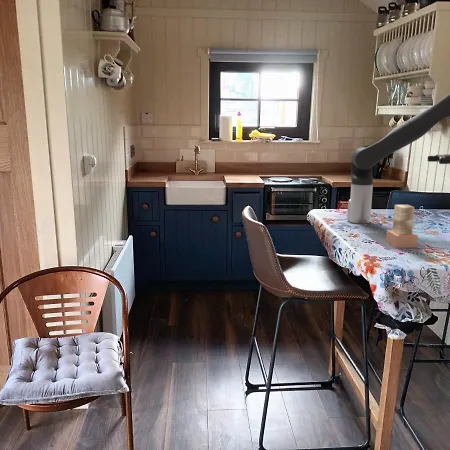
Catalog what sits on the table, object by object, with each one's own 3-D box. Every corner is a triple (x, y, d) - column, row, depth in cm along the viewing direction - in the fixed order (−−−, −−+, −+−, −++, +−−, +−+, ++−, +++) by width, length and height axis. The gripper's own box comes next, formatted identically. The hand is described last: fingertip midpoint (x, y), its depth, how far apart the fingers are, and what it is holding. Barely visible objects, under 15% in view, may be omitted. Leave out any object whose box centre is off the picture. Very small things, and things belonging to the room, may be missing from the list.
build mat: (387, 251, 164) (387, 249, 164) (363, 234, 186) (363, 232, 186) (427, 249, 165) (428, 248, 165) (398, 233, 187) (398, 231, 187)
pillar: (398, 234, 166) (401, 207, 164) (392, 231, 171) (394, 204, 168) (411, 234, 166) (414, 207, 164) (405, 230, 171) (407, 204, 169)
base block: (395, 247, 165) (396, 235, 164) (385, 241, 173) (386, 230, 172) (416, 247, 166) (417, 235, 165) (406, 241, 174) (407, 229, 173)
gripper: (463, 148, 186) (425, 148, 184) (486, 151, 172) (444, 151, 171) (461, 166, 188) (423, 167, 186) (483, 171, 174) (442, 171, 173)
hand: (433, 159), depth 178 cm, fingers open, 8 cm apart
